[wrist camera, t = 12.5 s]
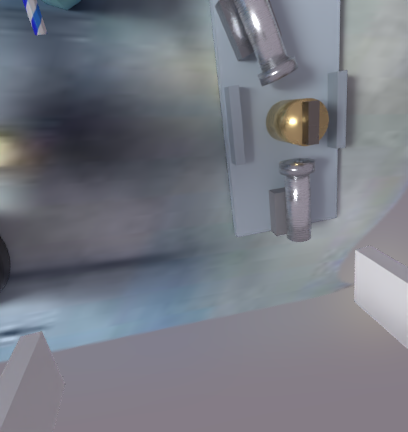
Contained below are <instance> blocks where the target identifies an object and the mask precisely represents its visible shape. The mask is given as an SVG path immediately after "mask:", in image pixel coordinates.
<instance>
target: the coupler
mask: <svg viewBox="0 0 408 432" xmlns="http://www.w3.org/2000/svg"><path fill="white" fill-rule="evenodd" d="M328 124H329V115H328V111H327V109H326V107H325V105H324V104H323V103H322V102H321V101H320V100H317V99H314V98H304V99H291V100H282V101H279V102H277V103H276V104H274V105H273V106H272V107H271V108H270V110H269V112H268V114H267V117H266V128H267V131H268V133H269V134H270V136H271V137H273V138H274V139H276V140H278V141H282V142H287V143H291V144H295V145H299V146H310V145H315V144H319V140H320V139H321V138H322V137H323V136H324V134H325V133H326V130H327V128H328Z"/></svg>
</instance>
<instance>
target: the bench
mask: <svg viewBox="0 0 408 432" xmlns="http://www.w3.org/2000/svg"><path fill="white" fill-rule="evenodd" d="M218 1H219V0H209V2H210V11H211V20H212V30H213V39H214V48H215V58H216V67H217V76H218V86H219V95H220V104H221V113H222V123H223V132H224V141H225V151H226V160H227V169H228V179H229V188H230V197H231V206H232V216H233V225H234V233H235V235H236V236H237V237H241V236H246V235H251V234H256V233H261V232H266V231H272V232H273V233H274V234H275V235H276V236H279V235H284V234H287V221H286V198H285V175H281V174H280V173H279V162H281V161H284V160H288V159H296V158H310V159H314V160H315V172H314V173H311V174H310V207H311V223H313V222H318V221H323V220H328V219H333V218H337V159H338V148H344V147H345V146H346V107H347V70H344V71H339V43H340V0H270V3H271V6H272V8H273V11H274V14H275V17H276V20H277V22H278V25H279V28H280V31H281V34H282V36H281V38H282V41H283V44H284V46H285V49H286V52H287V55H288V58H290V57H292V56H295V59H296V62H297V65H298V68H297V69H296V70H295V71H293V72H292V73H290V74H288V75H286V76H285V77H283V78H281V79H279V80H277V81H275V82H273V83H270V84H268V85H265V86H261V83H260V81H259V78H258V76H257V75H259V74H260V73H262V70H261V68H260V65H259V63H258V60H257V58H256V55H255V53H254V52H253V53H251V54H250V55H248V56H246V57H244V58H242V59H241V60H239V61H237V58H236V56H235V53H234V51H233V49H232V46H231V44H230V42H229V39H228V37H227V34H226V32H225V30H224V27H223V25H222V23H221V20H220V18H219V15H218V13H217V11H216V8H215V5H216V4H217V2H218ZM304 98H314V99H317V100H320V101H321V102H322V103H323V104H324V105H325V107H326V109H327V111H328V115H329V124H328V128H327V130H326V133H325V134H324V136H323V137H322V138H321V139H320V140H319V144H315V145H310V146H299V145H295V144H291V143H287V142H282V141H278V140H276V139H274V138H273V137H271V136H270V134H269V133H268V131H267V128H266V117H267V114H268V112H269V110H270V108H271V107H272V106H273V105H274V104H276V103H277V102H279V101H282V100H291V99H304Z"/></svg>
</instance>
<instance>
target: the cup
mask: <svg viewBox="0 0 408 432" xmlns="http://www.w3.org/2000/svg"><path fill="white" fill-rule="evenodd" d="M41 1H43V2H44V3H46V4H48V5H51V6H55V7H58V8H62V9H65V10H68V9H70V8H71V7H73V6H74V5H76V4H77V3H78V2H80V1H81V0H41ZM23 3H24V6H25V8H26V11H27V14H28V17H29V19H30V22H31V25H32V28H33V30H34V33H35V35H42V34H47V31H46V28H45V25H44V22H43V19H42V16H41V12H40V9H39V6H38V3H37V0H23Z"/></svg>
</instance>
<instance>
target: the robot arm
mask: <svg viewBox="0 0 408 432" xmlns="http://www.w3.org/2000/svg"><path fill="white" fill-rule="evenodd" d="M9 273H10V259H9V254H8V251H7V248H6V246H5V244H4V242H3V240H2V239H1V237H0V292H1V290H2V289H3V288H4V286H5V284H6V282H7V280H8V277H9ZM354 290H355V291H354V302H355V303H356V304H357V305H359V306H360V307H361V308H362V309H363V310H364V311H366V313H368V314H369V315H370V316H371V317H372V318H373V319H374V320H375V321H377V322H378V323H379V324H380V325H381V326H382V327H383V328H385V329H386V330H387V331H388V332H389V333H390V334H391V335H392V336H394V337H395V338H396V339H397V340H398V341H399V342H400V343H401V344H403V345H404V346H405V347H406V348H407V349H408V267H407V266H405V265H404V264H402V263H400V262H398V261H397V260H395V259H393V258H392V257H390V256H388V255H386V254H385V253H383V252H381V251H379V250H378V249H376V248H374V247H373V246H367V247H364V248H359V249H356V250H355V289H354ZM64 387H65V383H64V380H63V378H62V376H61V374H60V371H59V369H58V367H57V365H56V362H55V360H54V358H53V356H52V353H51V351H50V349H49V346H48V344H47V342H46V339H45V337H44V335H43V333H42V331H41V332H37V333H33V334H29V335H25V336H22V337H20V339H19V341H18V343H17V345H16V347H15V349H14V351H13V353H12V355H11V357H10V359H9V361H8V363H7V365H6V367H5V369H4V371H3V372H2V374H1V376H0V432H53V430H54V426H55V422H56V418H57V415H58V411H59V407H60V402H61V399H62V395H63V391H64Z"/></svg>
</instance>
